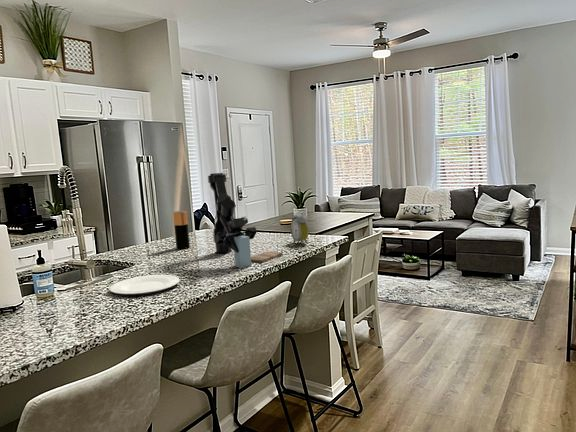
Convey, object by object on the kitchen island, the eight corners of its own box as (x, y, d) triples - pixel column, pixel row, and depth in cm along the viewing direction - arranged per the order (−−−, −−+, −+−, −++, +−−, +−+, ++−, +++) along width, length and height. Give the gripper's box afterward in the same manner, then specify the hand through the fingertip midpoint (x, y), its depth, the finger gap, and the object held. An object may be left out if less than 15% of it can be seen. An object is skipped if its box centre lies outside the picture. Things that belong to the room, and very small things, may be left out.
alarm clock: (290, 242, 241) (289, 214, 240) (302, 240, 244) (300, 213, 242) (300, 245, 231) (299, 216, 229) (312, 244, 234) (311, 215, 232)
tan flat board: (262, 262, 197) (262, 260, 197) (246, 261, 202) (245, 258, 202) (282, 255, 210) (282, 252, 210) (266, 253, 215) (266, 251, 215)
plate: (125, 280, 181) (124, 276, 181) (187, 277, 180) (187, 273, 180) (97, 300, 156) (96, 294, 156) (169, 296, 155) (168, 291, 155)
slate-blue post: (235, 266, 194) (233, 237, 193) (245, 263, 197) (243, 235, 196) (241, 267, 190) (238, 238, 189) (251, 265, 193) (249, 236, 192)
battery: (192, 247, 242) (188, 210, 239) (179, 250, 238) (175, 212, 235) (186, 246, 248) (183, 209, 245) (174, 248, 244) (171, 211, 241)
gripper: (215, 213, 189) (229, 242, 181) (253, 208, 199) (268, 236, 192) (208, 230, 196) (221, 259, 189) (245, 224, 207) (260, 251, 199)
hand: (243, 251), depth 192 cm, fingers closed on slate-blue post, 5 cm apart
